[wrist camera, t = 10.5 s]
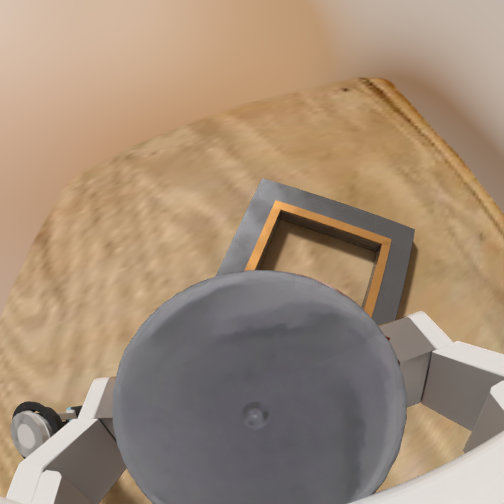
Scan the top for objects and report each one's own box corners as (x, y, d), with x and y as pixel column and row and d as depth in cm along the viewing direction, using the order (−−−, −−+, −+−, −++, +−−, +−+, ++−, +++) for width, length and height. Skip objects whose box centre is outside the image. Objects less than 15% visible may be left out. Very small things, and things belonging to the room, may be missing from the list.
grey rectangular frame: (138, 462, 23) (130, 466, 22) (262, 186, 33) (262, 177, 32) (303, 530, 20) (304, 537, 18) (409, 236, 30) (415, 228, 28)
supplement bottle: (187, 361, 15) (17, 297, 4) (298, 307, 15) (335, 142, 5) (241, 471, 12) (163, 619, 2) (357, 414, 13) (517, 455, 3)
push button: (127, 465, 23) (67, 489, 14) (83, 468, 23) (18, 485, 14) (108, 399, 26) (42, 397, 17) (66, 406, 26) (-3, 403, 16)
